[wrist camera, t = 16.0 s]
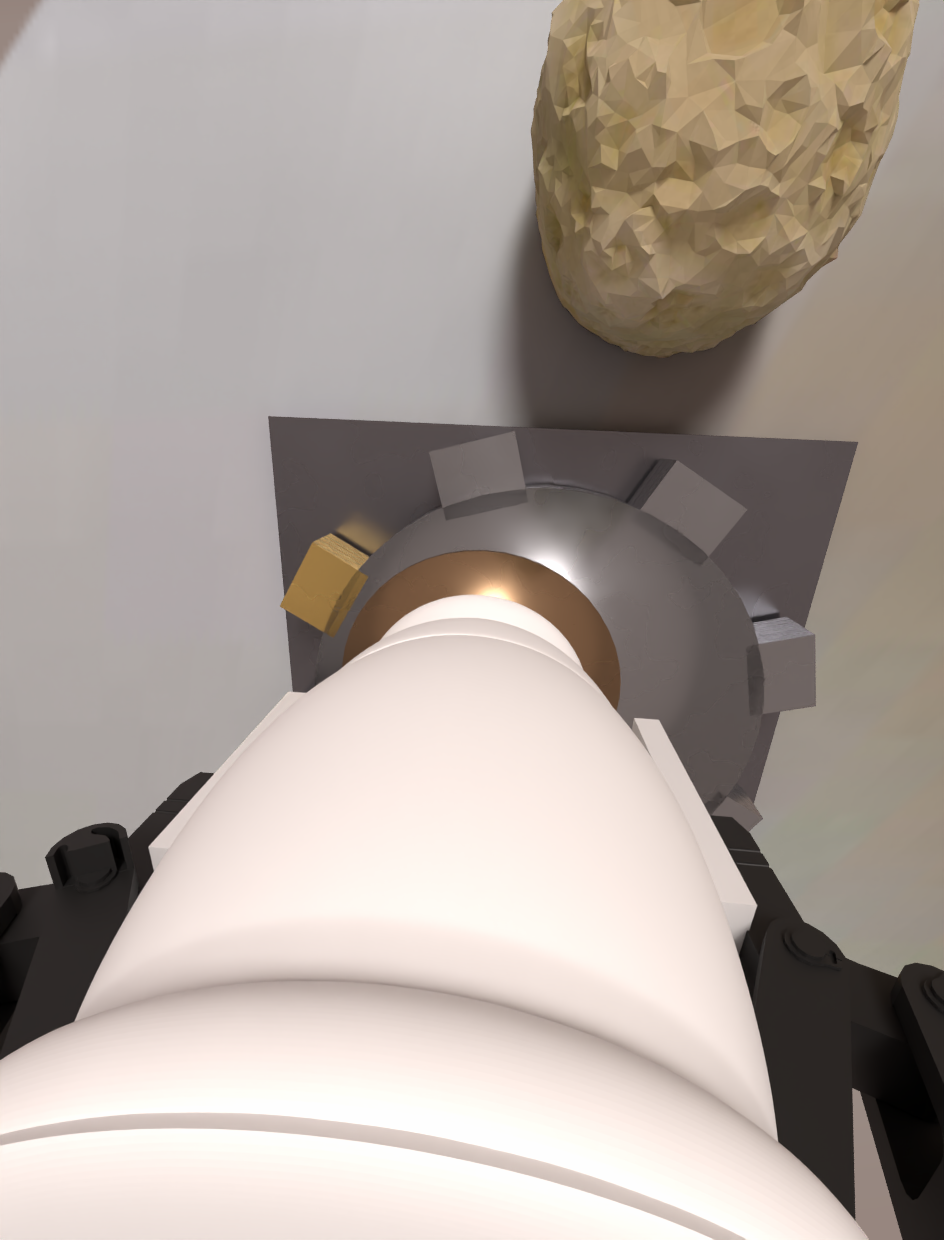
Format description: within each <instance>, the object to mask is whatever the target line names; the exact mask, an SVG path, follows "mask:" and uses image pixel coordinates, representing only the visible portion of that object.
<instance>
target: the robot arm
mask: <svg viewBox="0 0 944 1240" xmlns="http://www.w3.org/2000/svg"><path fill="white" fill-rule="evenodd" d="M304 694H306V693H301V692H288V693H287V694H286V695H285V696H284V697H283V698H282V699H281V700H280V701H279V703H278V704H277V705H276V706H275V707H274V708H273V709H272V710H271V711H270V713H269V714H268V715H267V716H266V717H265V718H264V719H263V720H262V721H261V723H260V724H259V725H258V726H257V727H256V728H255V729H254V730H253V731H252V732H251V734H250V735H249V736H248V737H247V738H246V739H245V740H244V741H243V742H242V744H241V745H240V746H239V747H238V748H237V749H236V750H235V751H234V752H233V754H232V755H231V756H230V757H229V758H228V759H227V760H226V761H225V762H224V764H223V765H222V766H221V767H220V768H219V769H218V770H217V771H216V772H215V773H203V772H200V773H198V774H197V775H195V776H193V777H192V778H190V779H188V780H187V781H185V782H183V783H182V784H180V785H179V786H178V787H177V788H176V789H175V791H174V792H173V793H172V794H171V795H170V796H169V797H168V798H167V801H164V802H163V803H162V804H161V805H160V806H159V807H158V808H157V809H156V812H155V813H152V814H151V815H150V816H149V817H148V818H147V819H146V820H145V821H144V822H143V823H142V824H141V825H140V827H139V828H138V829H137V830H136V831H135V832H134V833H133V834H132V835H131V836H130V837H129V838H128V836H127V832H126V829H125V828H124V827H122V826H121V825H119V824H114V823H102V824H94V825H91V826H88V827H85V828H82V829H79V830H77V831H75V832H73V833H71V834H70V835H68V836H66V837H64V838H63V839H61V840H60V841H59V842H58V843H57V844H55V845H54V846H53V847H52V848H51V849H50V851H49V852H48V854H47V855H46V857H45V858H46V862H47V865H48V868H49V871H50V874H51V877H52V880H53V883H54V884H49V885H43V886H37V887H31V888H25V889H19V890H18V888H17V885H16V882H15V879H14V877H13V876H11V875H9V874H8V873H2V872H0V1060H1V1059H3V1058H5V1057H6V1056H8V1055H9V1054H11V1053H13V1052H14V1051H16V1050H18V1049H19V1048H21V1047H23V1046H24V1045H26V1044H28V1043H30V1042H32V1041H33V1040H35V1039H37V1038H39V1037H41V1036H43V1035H45V1034H47V1033H49V1032H51V1031H54V1030H56V1029H58V1028H60V1027H63V1026H65V1025H67V1024H70V1023H73V1022H74V1021H75V1019H76V1017H77V1014H78V1012H79V1009H80V1007H81V1005H82V1003H83V1000H84V998H85V996H86V994H87V991H88V989H89V987H90V985H91V983H92V981H93V979H94V977H95V975H96V972H97V970H98V968H99V966H100V964H101V962H102V960H103V959H104V957H105V955H106V953H107V951H108V949H109V947H110V945H111V943H112V941H113V940H114V938H115V936H116V934H117V932H118V930H119V929H120V927H121V925H122V923H123V922H124V920H125V918H126V916H127V915H128V913H129V911H130V910H131V908H132V906H133V905H134V903H135V901H136V900H137V898H138V896H139V895H140V893H141V891H142V890H143V888H144V886H145V885H146V883H147V882H148V880H149V878H150V877H151V875H152V874H153V872H154V871H155V869H156V867H157V866H158V864H159V863H160V861H161V860H162V858H163V857H164V855H165V854H166V852H167V851H168V849H169V848H170V846H171V845H172V843H173V842H174V840H175V839H176V837H177V836H178V835H179V833H180V832H181V830H182V829H183V827H184V826H185V825H186V823H187V822H188V820H189V819H190V818H191V816H192V815H193V813H194V812H195V811H196V809H197V808H198V807H199V805H200V804H201V803H202V801H203V800H204V799H205V797H206V796H207V795H208V793H209V792H210V791H211V790H212V788H213V787H214V786H215V785H216V783H217V782H218V781H219V780H220V778H221V777H222V776H223V775H224V773H225V772H226V771H227V770H228V769H229V768H230V766H231V765H232V764H233V763H234V762H235V761H236V759H237V758H238V757H239V756H240V755H241V754H242V753H243V752H244V751H245V749H246V748H247V747H248V746H249V745H250V744H251V743H252V742H253V741H254V740H255V739H256V738H257V737H258V736H259V735H260V734H261V733H262V732H263V731H264V730H265V729H266V728H267V727H268V726H269V725H270V724H271V723H272V722H273V721H274V720H275V719H276V718H277V717H278V716H280V715H281V714H282V713H283V712H284V711H285V710H286V709H287V708H289V707H290V706H291V705H292V704H293V703H295V702H296V701H297V700H298V699H299V698H301V697H302V696H303V695H304ZM632 731H633V732H634V734H635V735H636V736H637V738H638V739H639V740H640V742H641V743H642V745H643V746H644V747H645V749H646V750H647V752H648V753H649V755H650V756H651V758H652V759H653V761H654V762H655V764H656V765H657V767H658V769H659V770H660V772H661V774H662V775H663V777H664V778H665V780H666V782H667V784H668V785H669V787H670V789H671V791H672V792H673V794H674V796H675V798H676V800H677V802H678V803H679V805H680V807H681V809H682V811H683V813H684V815H685V817H686V819H687V821H688V823H689V825H690V827H691V830H692V832H693V834H694V836H695V838H696V840H697V843H698V845H699V847H700V850H701V852H702V854H703V857H704V859H705V861H706V864H707V866H708V869H709V871H710V874H711V876H712V879H713V882H714V884H715V887H716V890H717V892H718V895H719V898H720V901H721V903H722V906H723V909H724V912H725V915H726V918H727V921H728V924H729V927H730V930H731V933H732V936H733V939H734V942H735V946H736V949H737V952H738V955H739V959H740V962H741V965H742V969H743V972H744V976H745V979H746V983H747V986H748V990H749V994H750V997H751V1001H752V1005H753V1009H754V1013H755V1017H756V1021H757V1025H758V1029H759V1033H760V1037H761V1042H762V1046H763V1051H764V1056H765V1061H766V1066H767V1071H768V1076H769V1082H770V1087H771V1093H772V1099H773V1106H774V1113H775V1120H776V1128H777V1137H778V1142H779V1143H780V1144H781V1145H783V1146H784V1147H785V1148H786V1149H787V1150H789V1151H790V1152H791V1153H792V1154H793V1155H794V1156H795V1157H796V1158H798V1159H799V1160H800V1161H801V1162H802V1163H803V1164H804V1165H805V1166H806V1167H807V1168H808V1169H809V1170H810V1171H811V1172H812V1173H813V1174H814V1175H815V1176H816V1177H817V1178H818V1179H819V1180H820V1181H821V1182H822V1183H823V1184H824V1185H825V1186H826V1187H827V1188H828V1189H829V1191H830V1192H831V1193H832V1194H833V1195H834V1196H835V1197H836V1198H837V1200H838V1201H839V1202H840V1203H841V1204H842V1205H843V1207H844V1208H845V1209H846V1210H847V1211H848V1213H849V1214H850V1215H851V1216H852V1217H853V1219H854V1220H855V1188H854V1147H853V1103H852V1088H854V1089H856V1090H858V1091H860V1092H861V1096H862V1100H863V1103H864V1106H865V1110H866V1113H867V1117H868V1120H869V1124H870V1127H871V1131H872V1134H873V1138H874V1141H875V1145H876V1148H877V1152H878V1155H879V1159H880V1162H881V1166H882V1169H883V1172H884V1176H885V1180H886V1183H887V1186H888V1190H889V1193H890V1197H891V1201H892V1204H893V1207H894V1211H895V1215H896V1218H897V1221H898V1225H899V1228H900V1232H901V1236H902V1239H903V1240H944V971H943V970H940V969H938V968H936V967H933V966H930V965H925V964H919V963H913V964H909V965H905V966H904V968H903V969H902V971H901V973H900V974H899V977H898V978H897V977H894V976H891V975H889V974H886V973H883V972H880V971H878V970H875V969H872V968H869V967H867V966H864V965H861V964H858V963H856V962H854V961H852V960H849V959H847V958H845V956H844V955H843V953H842V952H841V950H840V949H839V948H838V946H837V945H836V944H835V943H834V942H833V941H832V940H831V939H830V938H828V937H827V936H826V935H825V934H824V933H823V932H821V931H819V930H818V929H816V928H814V927H813V926H811V925H809V924H807V923H804V921H803V920H802V918H801V916H800V915H799V913H798V911H797V910H796V908H795V906H794V905H793V903H792V901H791V900H790V898H789V897H788V895H787V893H786V892H785V890H784V888H783V887H782V885H781V883H780V882H779V880H778V879H777V877H776V875H775V874H774V872H773V870H772V869H771V868H769V864H768V862H767V860H766V859H765V857H764V856H763V854H761V853H760V849H759V847H758V846H757V844H756V842H755V841H754V839H753V837H752V836H751V834H750V833H749V832H748V831H747V830H746V829H745V828H744V827H743V826H742V825H740V824H739V823H738V822H737V821H736V820H735V819H734V818H733V817H726V816H714V815H709V814H708V812H707V810H706V808H705V806H704V804H703V802H702V800H701V798H700V797H699V795H698V793H697V791H696V789H695V787H694V785H693V783H692V781H691V780H690V778H689V776H688V774H687V772H686V770H685V768H684V766H683V765H682V763H681V761H680V759H679V757H678V755H677V753H676V751H675V749H674V748H673V746H672V744H671V742H670V740H669V738H668V736H667V734H666V732H665V731H664V729H663V727H662V725H661V723H660V721H659V720H655V719H642V718H634V721H633V726H632Z"/></svg>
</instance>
